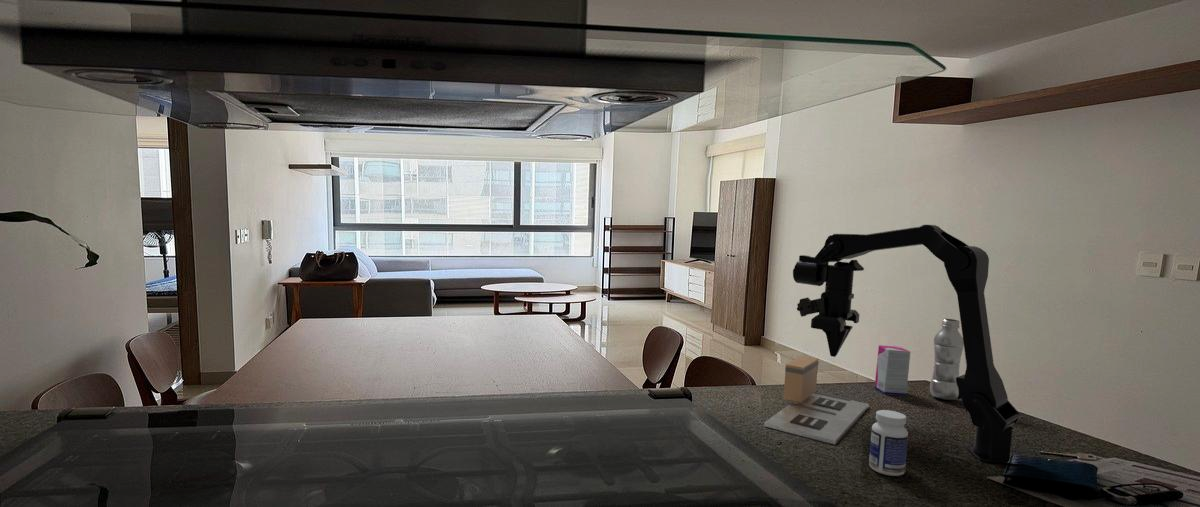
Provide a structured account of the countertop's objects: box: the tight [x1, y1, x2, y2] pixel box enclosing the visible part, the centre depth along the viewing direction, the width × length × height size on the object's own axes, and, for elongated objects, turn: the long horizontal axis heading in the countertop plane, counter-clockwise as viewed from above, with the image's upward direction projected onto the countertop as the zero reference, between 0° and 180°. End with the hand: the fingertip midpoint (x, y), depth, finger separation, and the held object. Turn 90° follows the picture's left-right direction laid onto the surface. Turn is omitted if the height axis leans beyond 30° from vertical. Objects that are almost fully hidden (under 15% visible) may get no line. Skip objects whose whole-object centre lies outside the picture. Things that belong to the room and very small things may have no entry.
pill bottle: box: [868, 409, 909, 477], centre depth 101 cm, size 6×6×10 cm
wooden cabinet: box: [782, 355, 820, 402], centre depth 138 cm, size 4×12×8 cm, turn 144°
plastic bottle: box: [929, 318, 964, 401], centre depth 145 cm, size 6×7×20 cm
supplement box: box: [874, 344, 911, 396], centre depth 150 cm, size 6×6×12 cm
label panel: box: [763, 391, 870, 446], centre depth 128 cm, size 14×30×1 cm, turn 144°
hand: (833, 356), depth 134 cm, fingers closed
